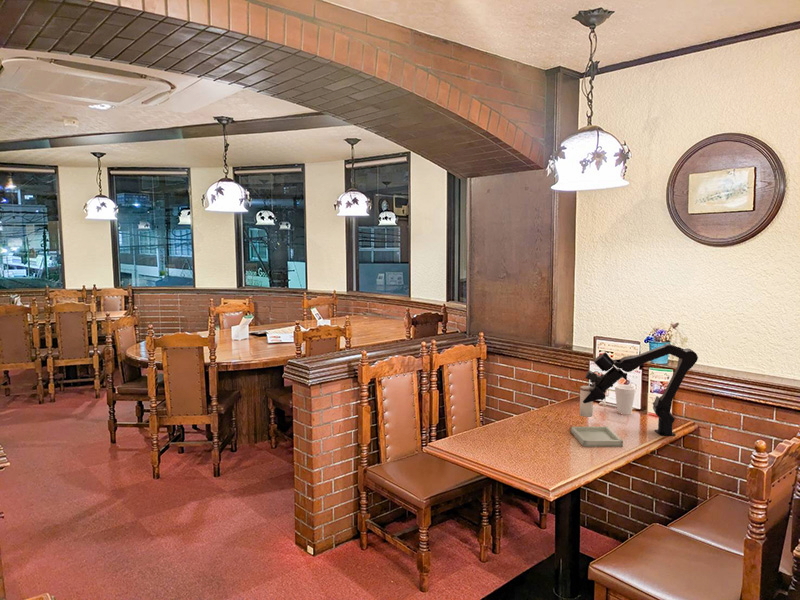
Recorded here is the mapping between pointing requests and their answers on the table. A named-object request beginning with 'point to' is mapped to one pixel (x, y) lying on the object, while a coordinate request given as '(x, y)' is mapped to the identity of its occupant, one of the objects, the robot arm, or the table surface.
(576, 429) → the tray
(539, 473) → the table surface
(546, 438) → the table surface
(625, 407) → the foam cup
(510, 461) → the table surface
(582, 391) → the tumbler
